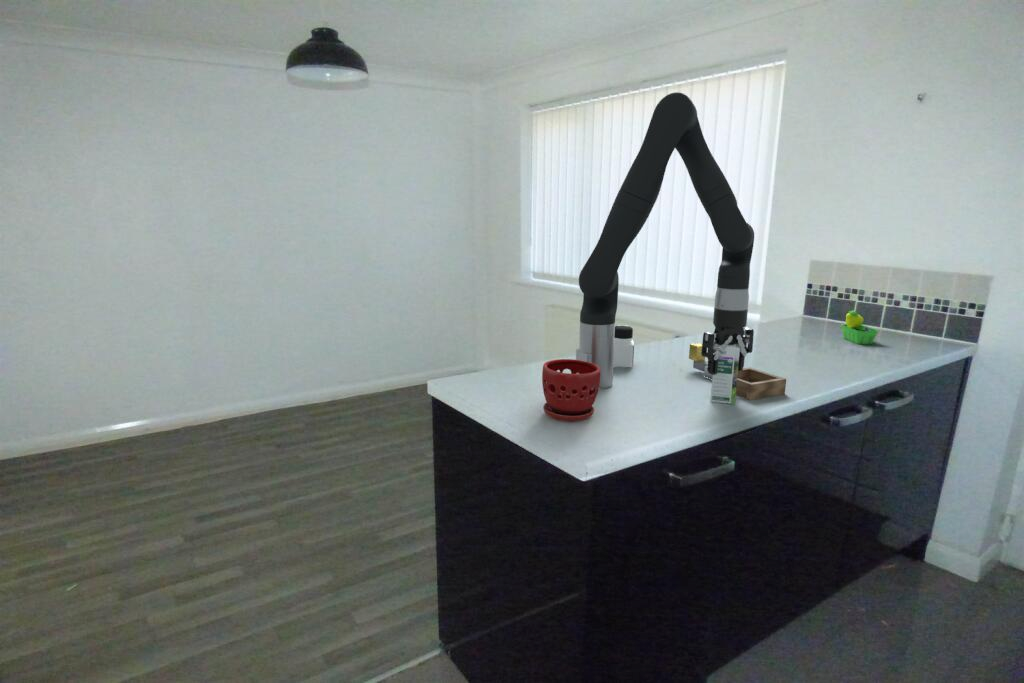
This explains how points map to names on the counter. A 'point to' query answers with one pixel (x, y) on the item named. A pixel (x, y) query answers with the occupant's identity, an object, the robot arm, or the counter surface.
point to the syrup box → (726, 375)
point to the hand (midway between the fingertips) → (725, 371)
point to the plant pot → (570, 389)
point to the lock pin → (697, 356)
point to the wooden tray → (758, 384)
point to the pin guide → (707, 373)
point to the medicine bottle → (623, 346)
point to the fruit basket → (857, 329)
